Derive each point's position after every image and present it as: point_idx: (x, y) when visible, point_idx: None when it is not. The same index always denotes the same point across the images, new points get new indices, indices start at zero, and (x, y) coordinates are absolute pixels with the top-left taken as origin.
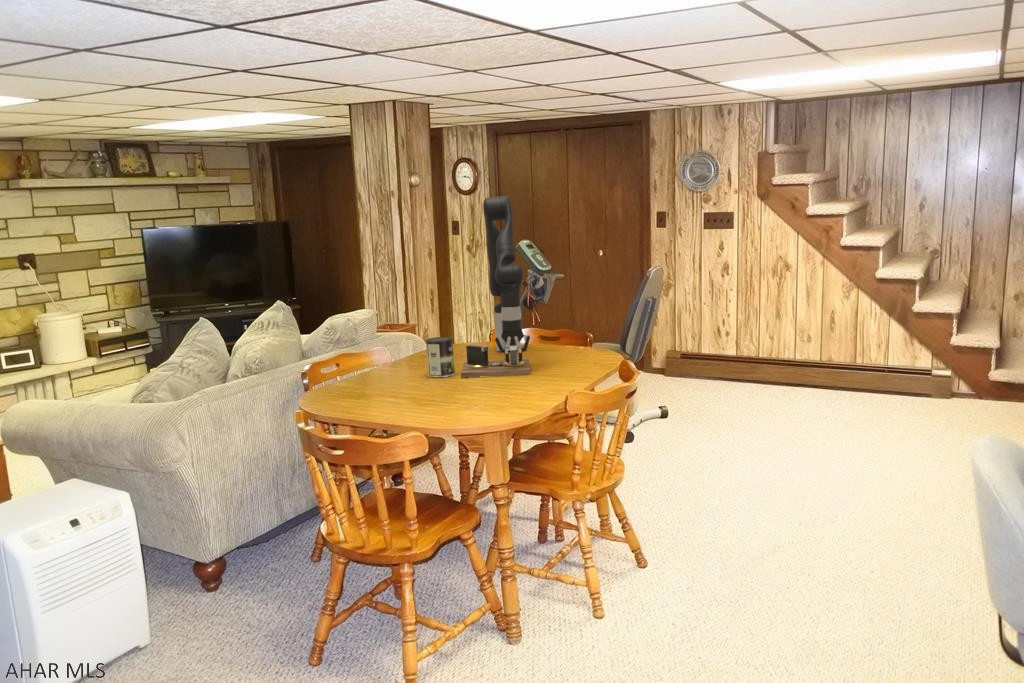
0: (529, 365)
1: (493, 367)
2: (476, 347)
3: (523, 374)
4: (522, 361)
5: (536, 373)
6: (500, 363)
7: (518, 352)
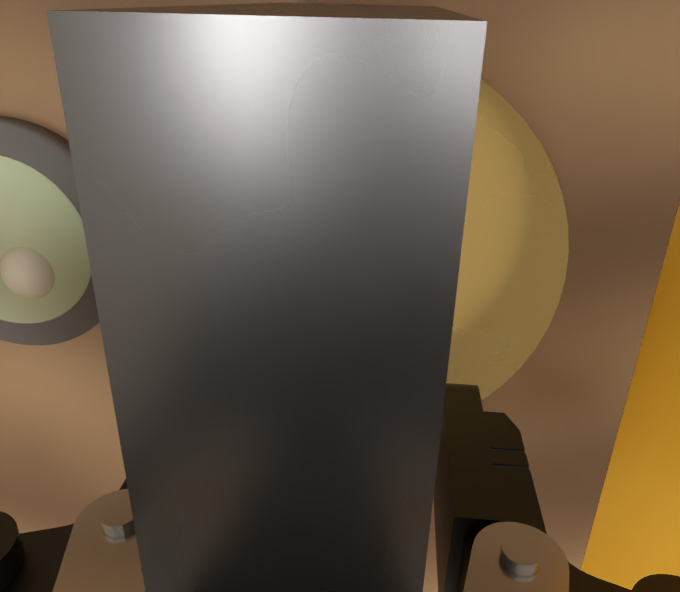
0: (615, 415)
1: (16, 375)
2: None
3: None
4: (535, 222)
5: (637, 541)
6: (87, 252)
7: (457, 533)
